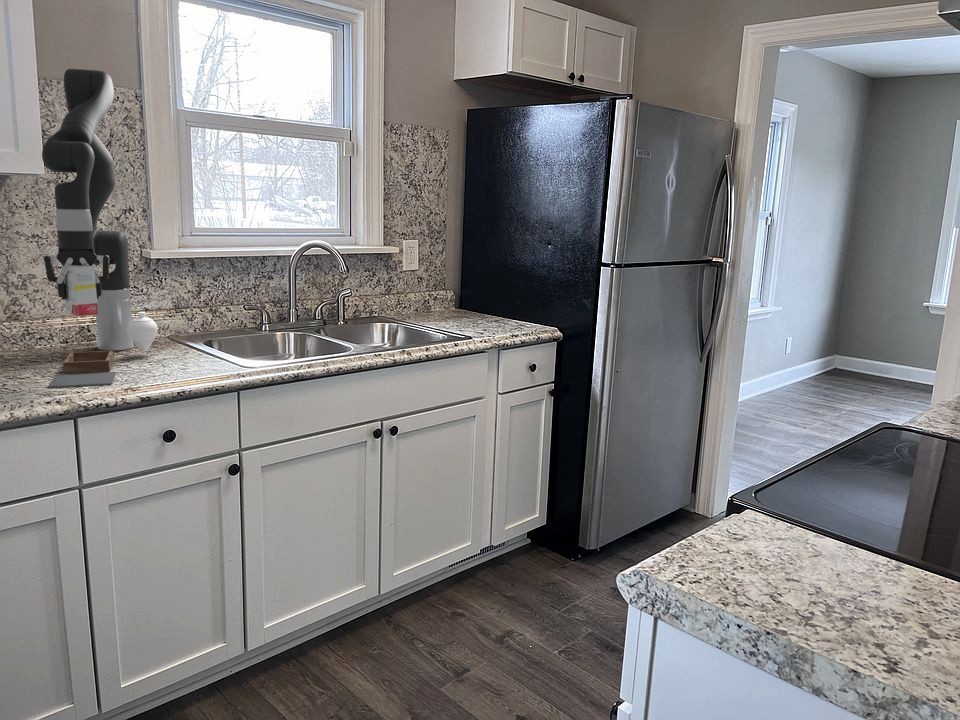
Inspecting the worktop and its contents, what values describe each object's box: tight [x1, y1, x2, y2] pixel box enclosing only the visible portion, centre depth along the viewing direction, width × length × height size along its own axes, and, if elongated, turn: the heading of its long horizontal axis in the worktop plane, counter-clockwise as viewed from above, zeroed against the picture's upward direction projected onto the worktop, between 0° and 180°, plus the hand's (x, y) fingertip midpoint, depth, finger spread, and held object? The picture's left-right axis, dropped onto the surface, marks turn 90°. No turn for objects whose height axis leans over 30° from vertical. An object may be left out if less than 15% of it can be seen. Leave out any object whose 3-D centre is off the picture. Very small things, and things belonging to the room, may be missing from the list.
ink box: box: [61, 264, 98, 317], centre depth 181 cm, size 9×5×12 cm, turn 46°
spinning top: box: [127, 311, 159, 356], centre depth 207 cm, size 8×8×12 cm
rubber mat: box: [47, 371, 117, 389], centre depth 179 cm, size 12×13×1 cm
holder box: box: [62, 350, 115, 374], centre depth 191 cm, size 13×10×3 cm
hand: (80, 298), depth 181 cm, fingers closed on ink box, 6 cm apart
